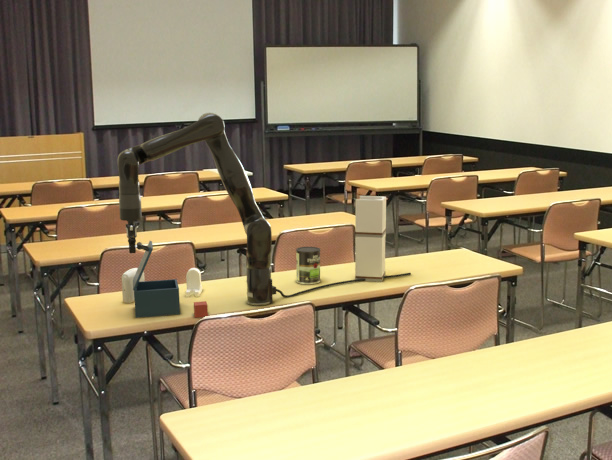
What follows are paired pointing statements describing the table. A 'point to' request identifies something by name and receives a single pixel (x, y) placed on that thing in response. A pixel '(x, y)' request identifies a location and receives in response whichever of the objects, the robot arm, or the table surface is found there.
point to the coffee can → (308, 265)
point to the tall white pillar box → (370, 238)
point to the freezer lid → (142, 262)
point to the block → (200, 309)
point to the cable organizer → (193, 282)
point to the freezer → (157, 298)
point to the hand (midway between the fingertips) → (132, 250)
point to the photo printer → (129, 285)
